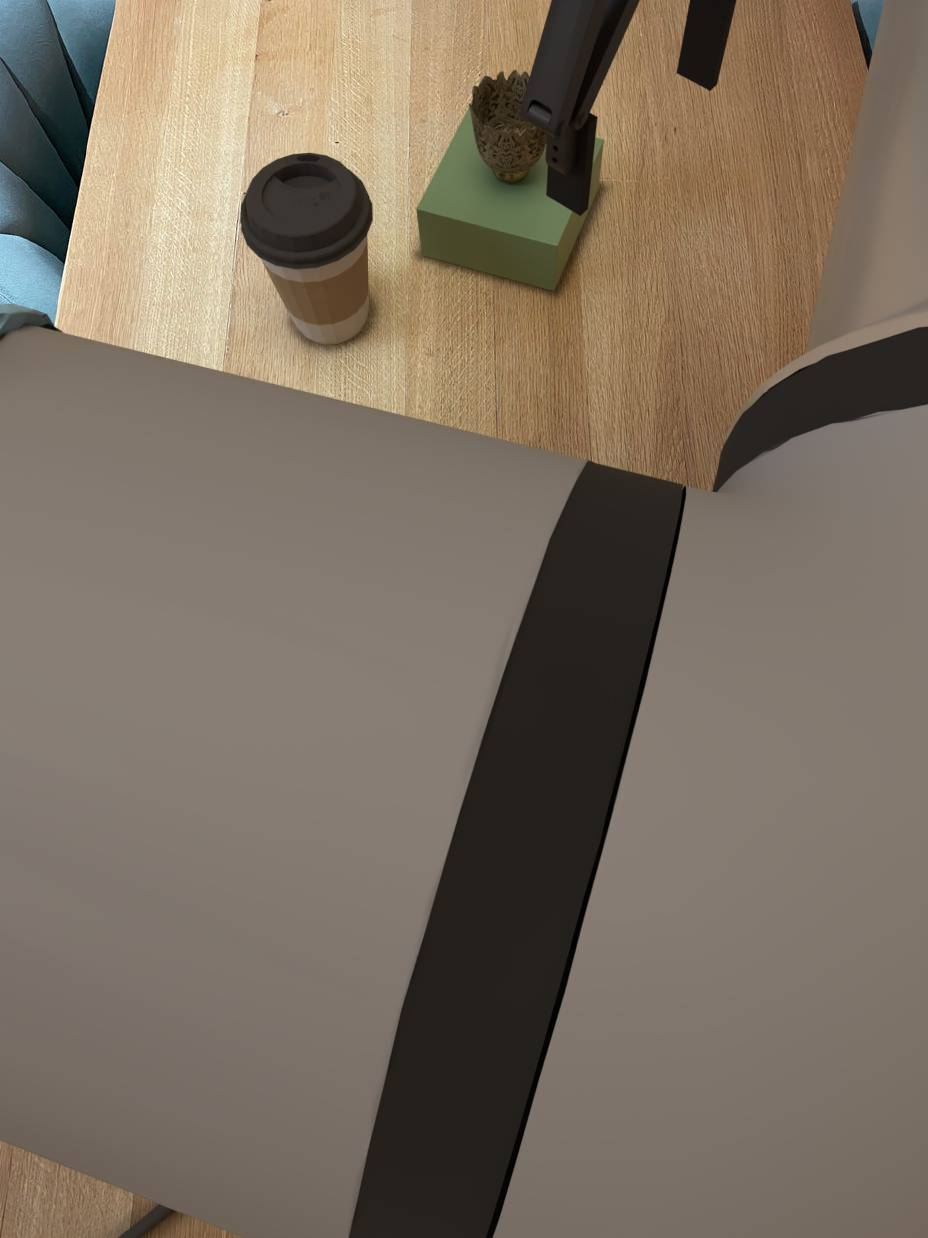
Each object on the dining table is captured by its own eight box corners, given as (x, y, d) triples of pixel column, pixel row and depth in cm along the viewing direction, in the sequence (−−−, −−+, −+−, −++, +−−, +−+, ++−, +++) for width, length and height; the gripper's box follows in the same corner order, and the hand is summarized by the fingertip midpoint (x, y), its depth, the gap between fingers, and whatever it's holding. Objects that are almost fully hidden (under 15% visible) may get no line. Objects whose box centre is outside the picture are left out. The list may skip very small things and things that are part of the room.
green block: (554, 291, 92) (557, 245, 86) (421, 255, 94) (416, 208, 89) (598, 188, 96) (604, 138, 91) (470, 156, 99) (468, 106, 93)
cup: (542, 207, 88) (546, 133, 81) (465, 197, 89) (461, 124, 81) (555, 148, 91) (560, 72, 83) (480, 140, 91) (478, 64, 84)
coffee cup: (397, 272, 93) (377, 144, 80) (382, 366, 89) (359, 249, 75) (284, 266, 94) (246, 139, 80) (264, 360, 90) (220, 242, 76)
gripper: (786, -430, 45) (700, 8, 64) (438, -171, 38) (461, 228, 58) (926, -382, 43) (794, 55, 62) (584, -100, 36) (556, 288, 56)
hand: (633, 139), depth 60 cm, fingers open, 13 cm apart
